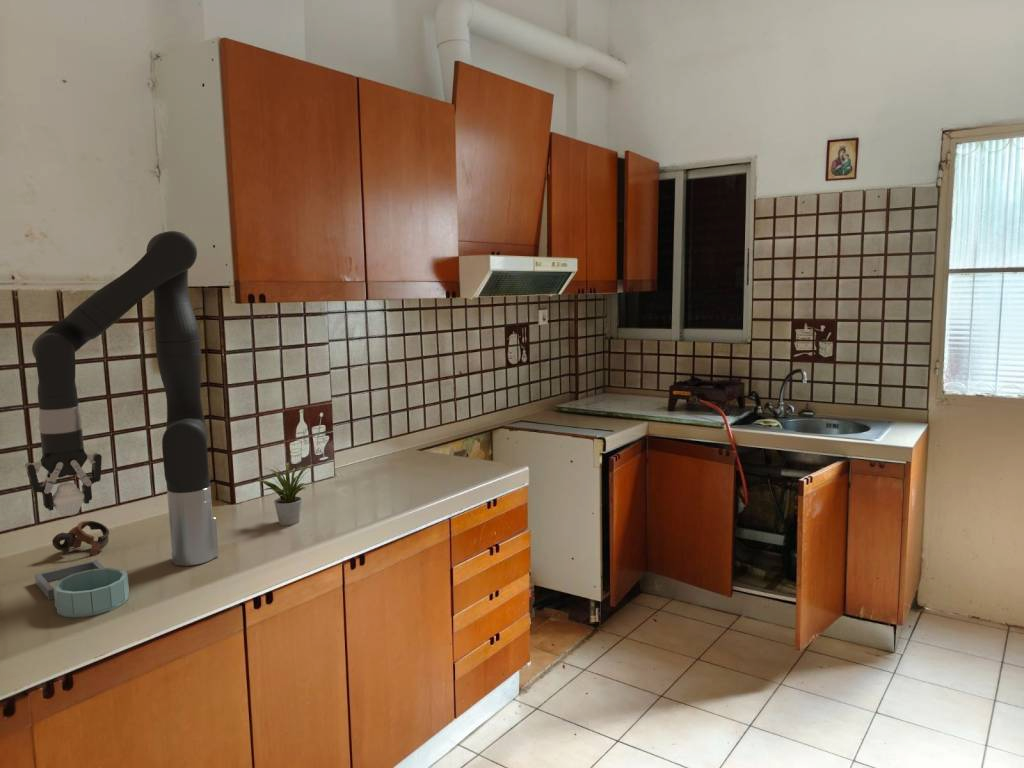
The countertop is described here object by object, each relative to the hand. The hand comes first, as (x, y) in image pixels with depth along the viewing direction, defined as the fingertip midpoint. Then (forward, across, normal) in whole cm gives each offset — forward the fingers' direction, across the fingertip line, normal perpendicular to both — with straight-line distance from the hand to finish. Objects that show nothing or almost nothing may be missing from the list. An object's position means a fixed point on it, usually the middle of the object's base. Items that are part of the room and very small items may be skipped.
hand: (68, 505), depth 158 cm
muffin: (+2, 0, 0) cm, 2 cm away
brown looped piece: (+18, +6, +21) cm, 28 cm away
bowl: (+18, 0, -13) cm, 22 cm away
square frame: (+18, 0, +1) cm, 18 cm away
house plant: (+18, +54, +8) cm, 57 cm away
